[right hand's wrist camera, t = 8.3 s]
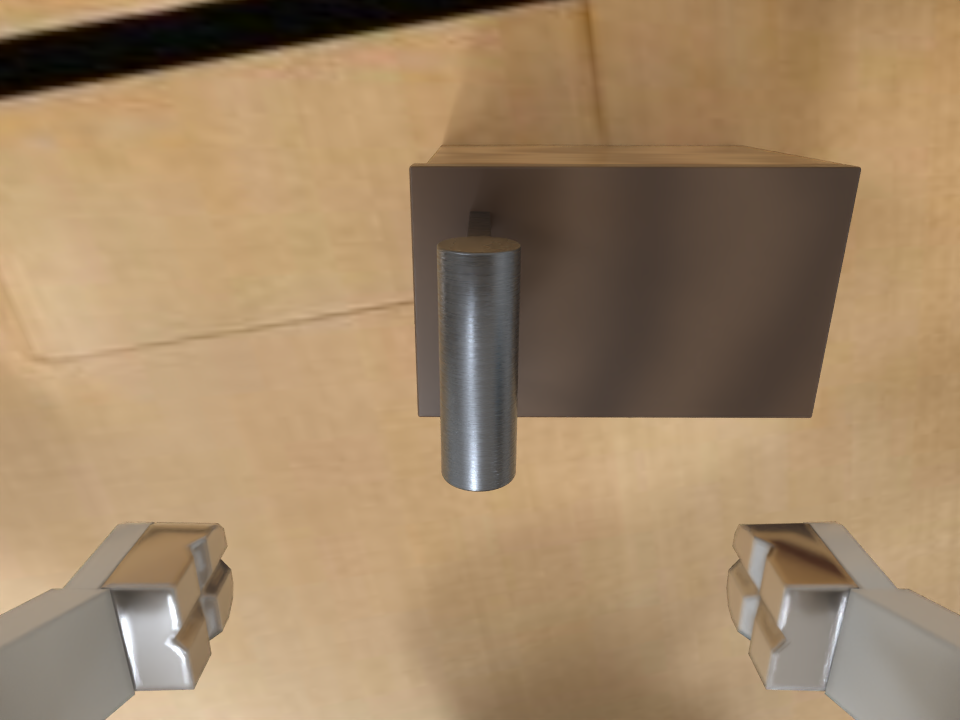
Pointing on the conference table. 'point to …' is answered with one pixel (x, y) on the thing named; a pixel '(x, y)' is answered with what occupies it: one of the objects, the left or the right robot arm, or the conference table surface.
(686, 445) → the conference table surface
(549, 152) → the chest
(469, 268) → the door
